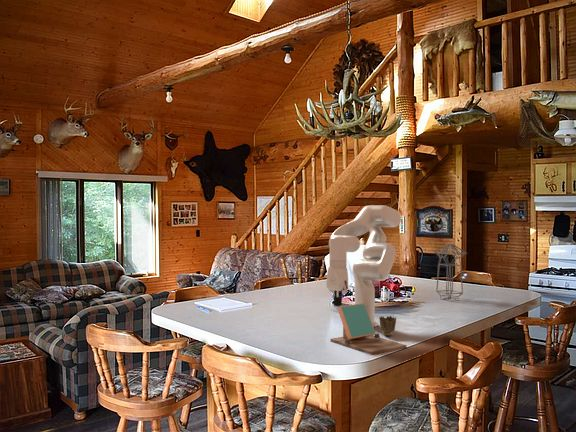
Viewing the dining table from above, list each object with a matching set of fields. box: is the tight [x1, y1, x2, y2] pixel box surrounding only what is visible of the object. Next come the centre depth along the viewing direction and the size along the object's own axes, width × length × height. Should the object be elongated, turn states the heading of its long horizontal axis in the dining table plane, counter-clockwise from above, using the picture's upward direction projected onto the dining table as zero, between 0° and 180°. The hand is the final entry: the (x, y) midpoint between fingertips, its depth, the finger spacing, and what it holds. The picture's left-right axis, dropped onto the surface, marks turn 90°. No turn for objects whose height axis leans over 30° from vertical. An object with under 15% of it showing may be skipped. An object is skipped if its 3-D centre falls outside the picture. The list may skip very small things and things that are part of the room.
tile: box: [337, 303, 377, 340], centre depth 220 cm, size 14×14×2 cm
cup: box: [378, 315, 397, 337], centre depth 230 cm, size 8×7×8 cm
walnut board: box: [329, 326, 407, 356], centre depth 215 cm, size 25×19×7 cm
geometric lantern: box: [433, 243, 468, 300], centre depth 324 cm, size 16×16×35 cm
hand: (337, 305), depth 230 cm, fingers closed
